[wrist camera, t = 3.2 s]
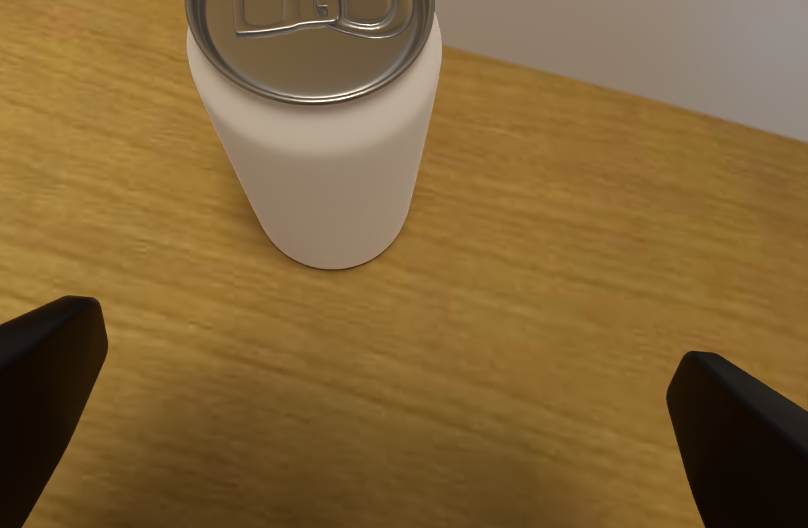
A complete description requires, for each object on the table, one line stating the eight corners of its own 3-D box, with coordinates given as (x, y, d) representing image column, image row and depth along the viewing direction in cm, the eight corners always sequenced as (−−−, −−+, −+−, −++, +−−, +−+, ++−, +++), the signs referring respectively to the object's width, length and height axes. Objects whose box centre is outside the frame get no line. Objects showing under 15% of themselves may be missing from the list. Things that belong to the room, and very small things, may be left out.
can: (417, 265, 24) (474, 111, 12) (261, 280, 23) (164, 131, 11) (399, 128, 25) (433, -119, 14) (253, 138, 25) (162, -114, 13)
